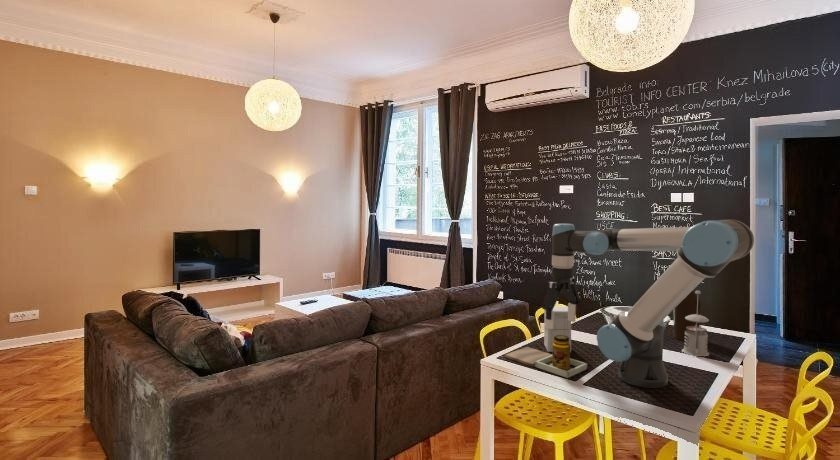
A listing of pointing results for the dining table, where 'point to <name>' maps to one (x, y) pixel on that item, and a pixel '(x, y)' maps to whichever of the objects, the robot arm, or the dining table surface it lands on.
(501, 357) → the dining table surface
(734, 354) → the dining table surface
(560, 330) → the supplement box
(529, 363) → the board
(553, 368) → the tray
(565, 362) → the condiment
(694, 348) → the french press
